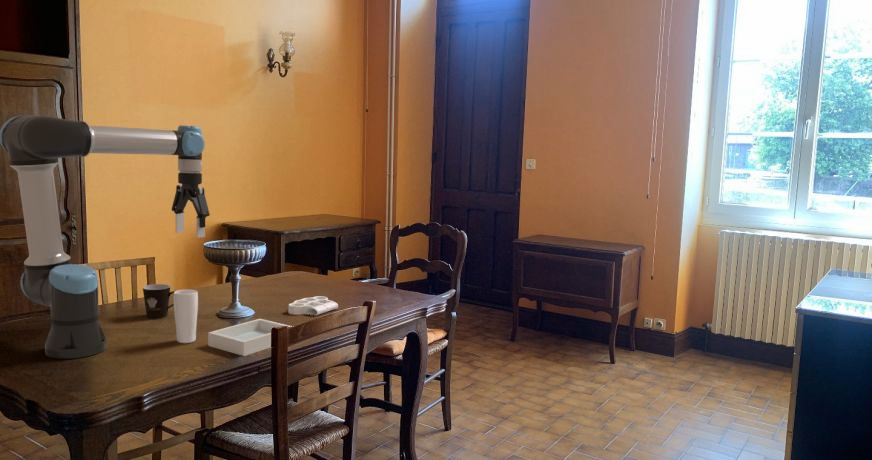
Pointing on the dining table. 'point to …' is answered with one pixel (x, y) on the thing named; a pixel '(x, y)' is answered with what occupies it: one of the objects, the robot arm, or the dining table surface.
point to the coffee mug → (157, 300)
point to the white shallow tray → (244, 337)
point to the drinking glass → (186, 315)
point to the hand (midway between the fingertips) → (190, 234)
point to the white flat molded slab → (312, 306)
